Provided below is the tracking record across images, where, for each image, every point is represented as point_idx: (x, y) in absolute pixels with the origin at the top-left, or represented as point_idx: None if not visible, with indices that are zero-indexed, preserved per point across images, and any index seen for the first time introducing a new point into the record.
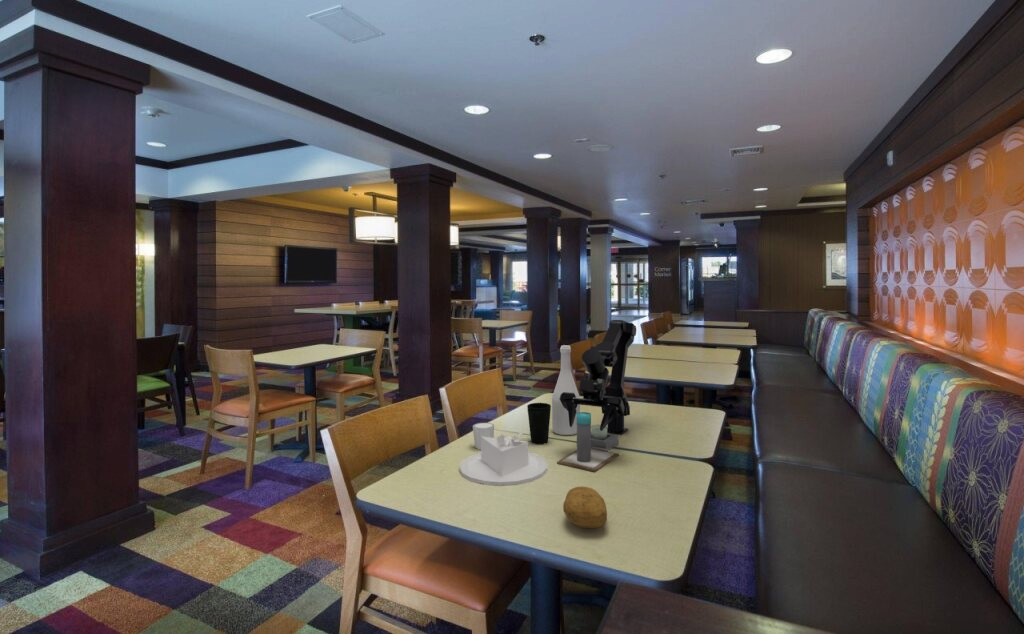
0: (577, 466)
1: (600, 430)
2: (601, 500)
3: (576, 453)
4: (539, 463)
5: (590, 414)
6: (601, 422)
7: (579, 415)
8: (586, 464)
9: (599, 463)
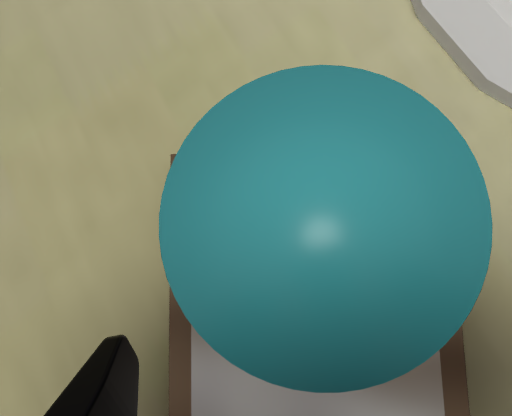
0: None
1: (133, 351)
2: None
3: None
4: (507, 25)
5: (174, 269)
6: (86, 405)
7: (337, 69)
8: None
9: None
